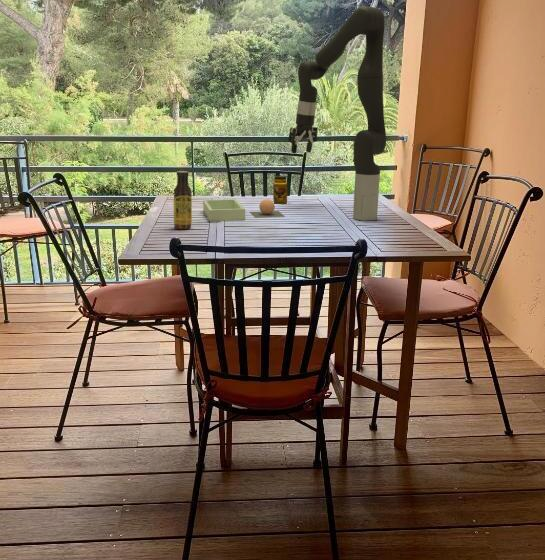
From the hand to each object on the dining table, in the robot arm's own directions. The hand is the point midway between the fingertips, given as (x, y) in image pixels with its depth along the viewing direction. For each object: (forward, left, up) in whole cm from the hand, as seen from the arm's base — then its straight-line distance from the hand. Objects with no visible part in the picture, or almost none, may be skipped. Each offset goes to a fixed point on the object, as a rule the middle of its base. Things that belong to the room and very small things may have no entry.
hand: (301, 152), depth 242 cm
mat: (-18, +19, -22) cm, 34 cm away
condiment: (+7, +7, -23) cm, 25 cm away
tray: (-16, +35, -22) cm, 45 cm away
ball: (-18, +18, -22) cm, 34 cm away
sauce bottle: (-35, +53, -23) cm, 67 cm away
